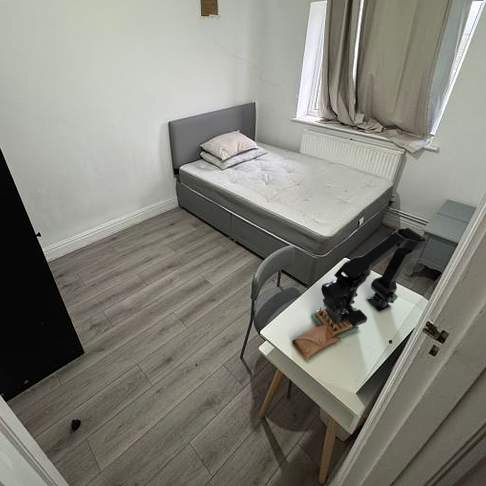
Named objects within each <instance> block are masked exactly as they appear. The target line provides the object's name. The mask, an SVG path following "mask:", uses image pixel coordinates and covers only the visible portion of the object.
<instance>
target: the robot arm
mask: <svg viewBox="0 0 486 486" xmlns="http://www.w3.org/2000/svg"><path fill="white" fill-rule="evenodd" d="M426 241H427V239H426V238H425V236H423V235H421V234H420V233H418V232H417V231H415V230H413V229H412V228H410V227H403V228H402V227H401V228H396V230H395V231H392V232H390V233H389V234H388V235H387V237H386V238H385V239H383V240H382V241H380V243H378V244H377V245H375V246H374V247H372V249H370V250H369V251H367V252H366V253H365V254H364V255H361V256H354V257H353V258H351V259H349V260H347V261H345V262H344V263H343V264H342V265H341V266H340V267H339V269H337V271H336V272H335V273H334V274H333V276H334V277H335V278H336V280H335V281H334V280H333V281H329V282H326V283H323V284H321V288H320V290H321V294H322V296H323V299H322V303H323V307H325V308H327V309H328V311H329V312H330V313H335V314H336V315H338V314H339V313H341V312H342V311H343V309H344V310H346V309H347V312H346V313H343V314H342V315H343V317H342V319H341V322H344V321H345V320H348V321H349V323H350V324H351V325H352V326H354V327H356V326H358V327H359V326H360V325H363V324H365V323H367V322H368V316H367V315H366V314H365V313H364V312H363V311H362V310H361V309H358V308H356V307H354V306H353V305H354V304H355V300H354V298H357V297H358V295H359V294H358V289H359V287H361V285H362V284H364V283H365V282H366V281H367V279H368V277H369V276H371V272H372V269H373V268H374V267H376V266H377V265H378V264H379V263H381V262H383V261H384V260H385V259H386V258H387V257H389V256H390V255H392V254H393V255H392V257H391V258H390V260H389V262H388V264H387V266H386V267H385V269H384V271H383V273H382V275H381V276H379V277H377V278H374V279H373V281H371V284H370V290H372V291H374V293H373V295H372V297H369V298H367V302H368V303H369V304H371V306H372V307H373V308H374V309H375V310H376V311H377V312H382V311H384V310H387V309H390V308H391V305H390V304H394V303H395V301H396V300H398V297H399V296H398V295H397V293H396V291H397V289H398V286H397V282H396V281H397V280H398V278H399V276H400V274H401V273H402V271H403V269H404V267H405V266H406V264H407V263H408V260H409V259H410V258H411V255H412V254H415V253H417V252H420V250H422V249H423V248H424V247H425V246H426V243H427V242H426ZM343 274H344V275H343Z"/></svg>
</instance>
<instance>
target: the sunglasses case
mask: <svg viewBox="0 0 486 486" xmlns="http://www.w3.org/2000/svg"><path fill="white" fill-rule="evenodd" d="M326 323H327V324H328V325H329V321H327V322H326ZM327 324H326V325H325V324H323V323H322V324H320V325H315V326H314V327H313V328H310V329H309V330H307V331H306V332H304V333H302V334H300V335H299V336H297V337H296V338H294V339H292V342H291V343H292V346H293V348H294V349H295V350H296V352H297V353H298V354H299V355H300V356H301V357H302V358H303V359H304V360H305V361H309V360H311V358H312V357H314V356H315V355H317V354H318V353H320V352H321V351H323V350H326V349H327V348H329V347H330V346H332V345H334V344H335V345H336V344H337V343H339V342H341V341H342V340H341V338H333V339H332V338H331V337H333V336H336V334H334V335H333V336H331V333H330V331H329V330H328V329H327ZM330 328H331V330H332V327H331V325H330ZM333 332H334V331H333Z"/></svg>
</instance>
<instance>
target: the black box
mask: <svg viewBox="0 0 486 486" xmlns="http://www.w3.org/2000/svg"><path fill="white" fill-rule="evenodd" d="M346 312H347V309H346V310H344V309H343V311H342V312H341V313H339V314H338V315H336V314H335V313H330V312H329V311H328V313H327V315H328V316H329V318H330V319H331V320H332V321H333V323H334V324H335V325H337V324H339V323H342V322H341V319H342V317H343V315H342V314H343V313H346ZM345 321H347V320H345Z"/></svg>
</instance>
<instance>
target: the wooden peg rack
mask: <svg viewBox="0 0 486 486" xmlns="http://www.w3.org/2000/svg"><path fill="white" fill-rule="evenodd" d="M327 313H328V309H327V308H326V307H325V308H322V307H320V308H319V310H317V311H315V312H313V313H311V318H312V320H313V321H314V322H315V324H316V326H318V325H320V324H322V323H323V324H325V325H326V324H327V323H326V322H327V321H329V325H328V324H327V329H328V330H329V331H330V333H331V336H333V335H334V334H336V336H333V337H331V338H332V339H333V338H340V339H341V338H344V337H346V336H350V335H351V334H354V333H356V332H358V331H359V329H360V327H359V325H358V326H356V327H354V326H352V325H351V324H350V323H349V321H348V320H347V321H344V322H342V323H339V324H337V325H335V324H334V323H333V321H332V320H331V319H330V318H329V316H328V315H327ZM330 325H331V327H332V330H331V328H330ZM333 331H334V332H333Z"/></svg>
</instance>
